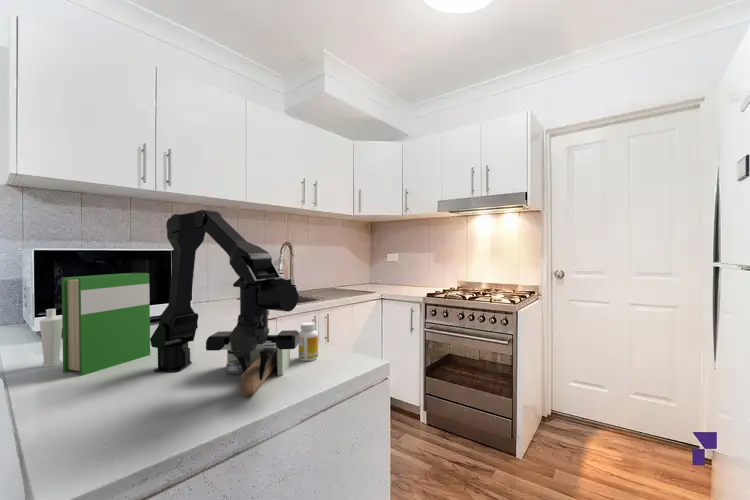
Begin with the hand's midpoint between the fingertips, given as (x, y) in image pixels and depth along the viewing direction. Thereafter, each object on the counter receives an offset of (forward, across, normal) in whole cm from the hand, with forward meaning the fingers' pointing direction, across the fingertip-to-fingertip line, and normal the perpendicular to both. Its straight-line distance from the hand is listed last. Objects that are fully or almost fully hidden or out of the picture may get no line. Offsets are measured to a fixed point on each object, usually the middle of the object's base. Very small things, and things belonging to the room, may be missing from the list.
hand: (254, 379), depth 76 cm
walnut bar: (+1, 0, +4) cm, 4 cm away
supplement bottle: (+2, +8, +21) cm, 23 cm away
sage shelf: (+2, -4, +12) cm, 13 cm away
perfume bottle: (+2, -61, +19) cm, 64 cm away
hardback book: (+2, -46, +20) cm, 50 cm away
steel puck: (+2, -8, +11) cm, 14 cm away
